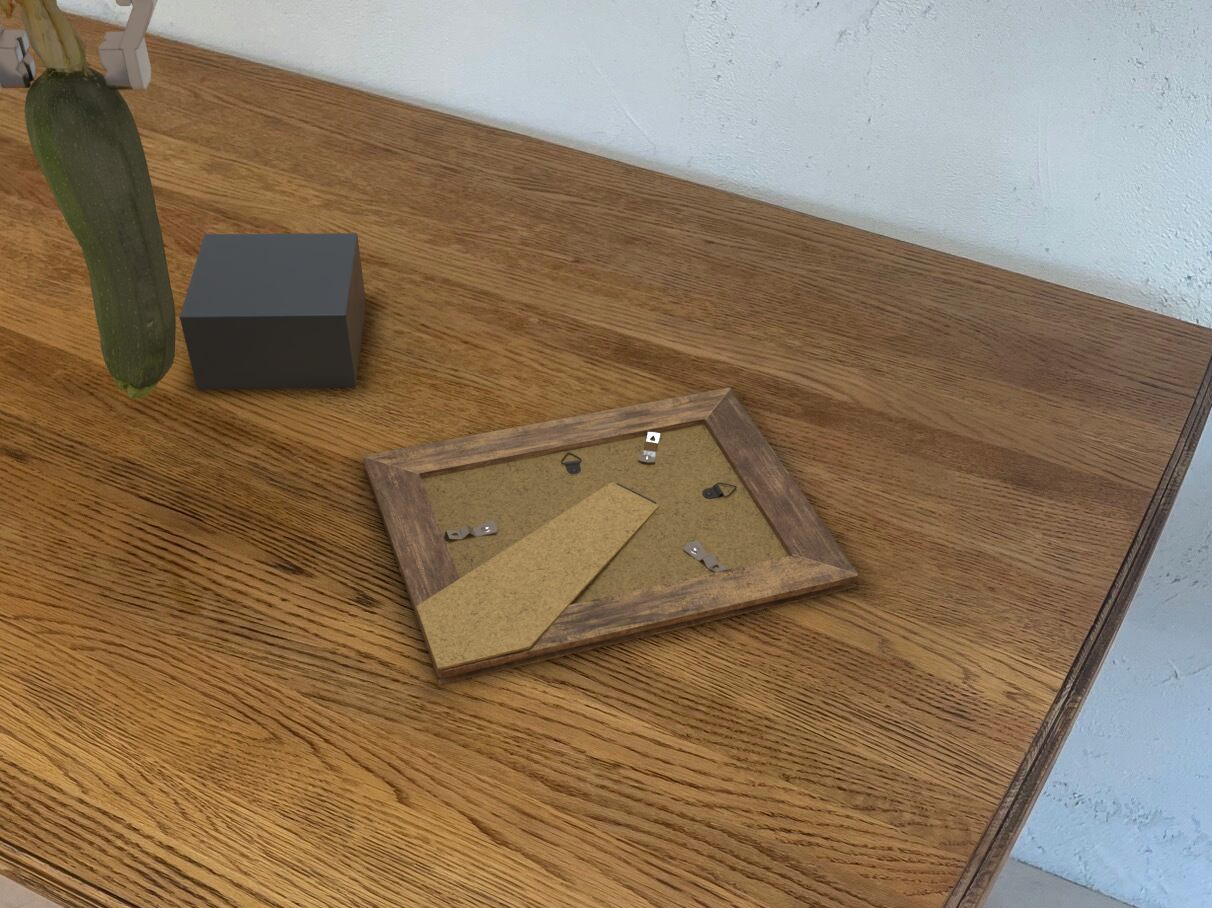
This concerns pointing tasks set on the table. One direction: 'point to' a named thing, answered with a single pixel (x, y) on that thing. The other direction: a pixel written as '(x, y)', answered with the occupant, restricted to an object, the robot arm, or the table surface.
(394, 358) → the table surface
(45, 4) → the vegetable
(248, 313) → the block
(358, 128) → the table surface
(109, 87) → the robot arm
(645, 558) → the picture frame
